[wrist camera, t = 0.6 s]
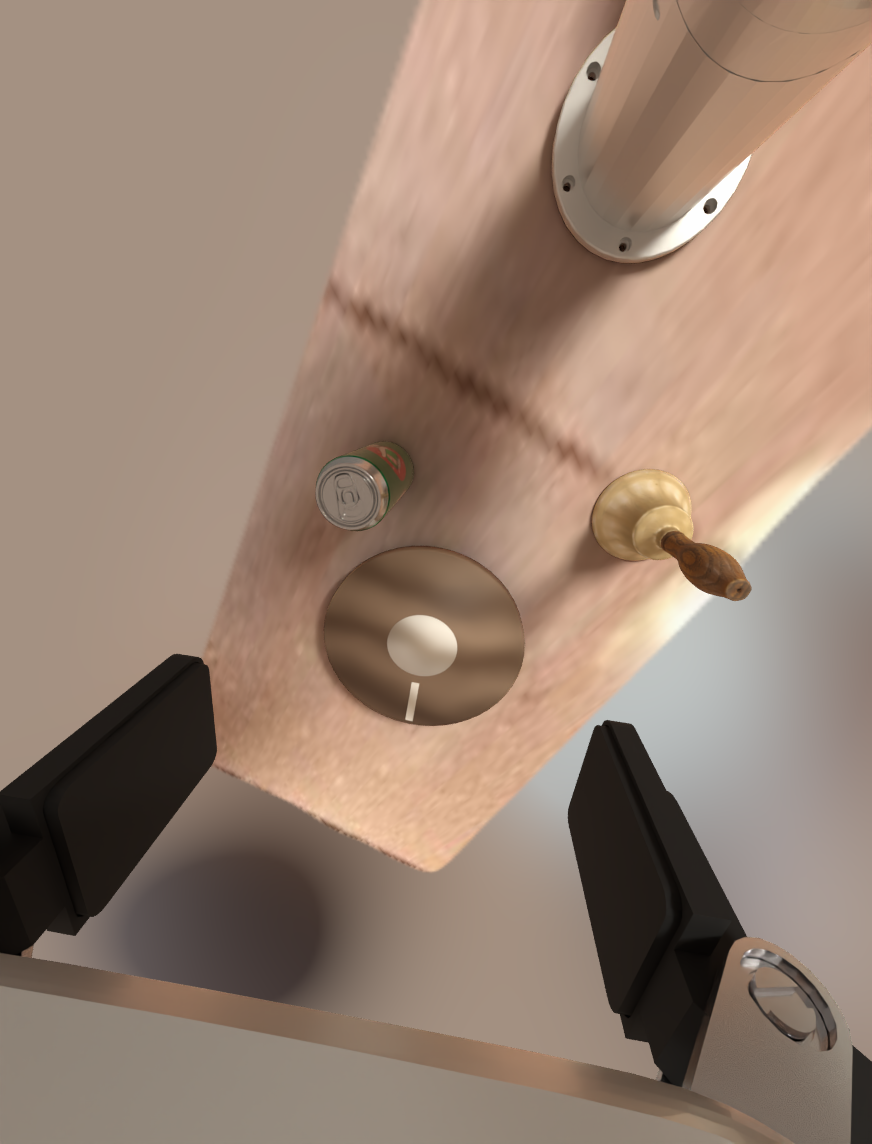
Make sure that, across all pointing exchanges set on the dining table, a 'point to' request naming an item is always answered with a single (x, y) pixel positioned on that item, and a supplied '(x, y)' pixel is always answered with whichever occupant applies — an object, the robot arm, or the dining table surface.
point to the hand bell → (662, 531)
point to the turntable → (424, 636)
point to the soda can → (363, 485)
